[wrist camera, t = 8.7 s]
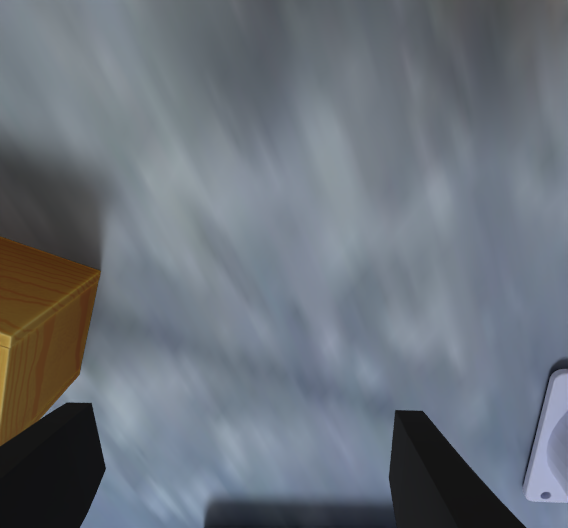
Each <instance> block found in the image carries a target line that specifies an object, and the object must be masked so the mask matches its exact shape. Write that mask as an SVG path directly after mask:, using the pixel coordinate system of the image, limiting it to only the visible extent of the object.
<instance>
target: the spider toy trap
mask: <svg viewBox="0 0 568 528" xmlns="http://www.w3.org/2000/svg"><path fill="white" fill-rule="evenodd" d="M100 273H101V271H99V270H96V269H93V268H90V267H88V266H85V265H82V264H79V263H76V262H73V261H70V260H67V259H64V258H61V257H58V256H55V255H53V254H50V253H47V252H44V251H41V250H38V249H35V248H32V247H29V246H26V245H23V244H20V243H17V242H15V241H12V240H9V239H6V238H3V237H0V446H1V445H3V444H4V443H6V442H7V441H9V440H10V439H12V438H13V437H15V436H16V435H18V434H19V433H21V432H22V431H24V430H25V429H27V428H28V427H30V426H31V425H33V424H34V423H36V422H37V421H39V420H40V418H41V417H42V416H43V415H44V414H45V413H46V412H47V411H48V409H49V408H50V407H51V406H52V405H53V404H54V403H55V402H56V401H57V399H58V398H59V397H60V396H61V395H62V394H63V393H64V392H65V390H66V389H67V388H68V387H69V386H70V385H71V384H72V383H73V381H74V380H75V379H76V378H77V377H78V376H79V374H80V369H81V368H80V367H81V363H82V358H83V353H84V349H85V344H86V339H87V334H88V329H89V325H90V320H91V315H92V310H93V305H94V300H95V296H96V291H97V286H98V280H99V278H100Z"/></svg>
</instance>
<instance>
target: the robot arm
mask: <svg viewBox="0 0 568 528" xmlns="http://www.w3.org/2000/svg"><path fill="white" fill-rule="evenodd" d="M105 470H106V467H105V463H104V458H103V453H102V449H101V444H100V440H99V435H98V430H97V426H96V421H95V417H94V412H93V407H92V403H66V404H64V405H62V406H61V407H59V408H57V409H56V410H54V411H52V412H51V413H49V414H48V415H46V416H45V417H43V418H42V419H40V420H39V421H37V422H36V423H34V424H33V425H31V426H30V427H28V428H27V429H25V430H24V431H22V432H21V433H19V434H18V435H16V436H15V437H13V438H12V439H10V440H9V441H7V442H6V443H4V444H3V445H1V446H0V528H80V526H81V524H82V522H83V520H84V519H85V517H86V515H87V513H88V511H89V508H90V506H91V504H92V501H93V499H94V497H95V495H96V492H97V490H98V487H99V485H100V482H101V480H102V477H103V475H104V472H105ZM389 482H390V488H391V495H392V501H393V507H394V513H395V519H396V525H397V528H526V527H525V526H524V525H523V524H522V523H521V522H520V521H519V520H518V519H517V518H516V517H515V516H514V515H513V514H512V512H511V511H510V510H509V509H508V508H507V507H506V506H505V505H504V504H503V503H502V502H501V501H500V500H499V499H498V498H497V497H496V495H495V494H494V493H493V492H492V491H491V490H490V489H489V488H488V487H487V485H486V484H485V483H484V482H483V481H482V480H481V479H480V478H479V477H478V476H477V474H476V473H475V472H474V471H473V470H472V469H471V468H470V467H469V465H468V464H467V463H466V462H465V461H464V460H463V458H462V457H461V456H460V455H459V454H458V453H457V451H456V450H455V449H454V448H453V447H452V445H451V444H450V443H449V442H448V441H447V439H446V438H445V437H444V436H443V435H442V433H441V432H440V431H439V430H438V429H437V427H436V426H435V425H434V424H433V422H432V421H431V420H430V419H429V418H428V416H427V415H426V414H425V413H424V412H423V411H406V410H395V419H394V430H393V440H392V451H391V461H390V472H389ZM523 493H524V495H525V497H526V498H527V499H528V500H529V501H534V502H560V503H568V369H559V370H557V371H555V372H554V373H553V374H552V375H551V377H550V380H549V384H548V388H547V392H546V396H545V400H544V404H543V408H542V412H541V416H540V421H539V425H538V429H537V433H536V437H535V441H534V445H533V449H532V453H531V457H530V461H529V465H528V469H527V473H526V477H525V481H524V485H523Z"/></svg>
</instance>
